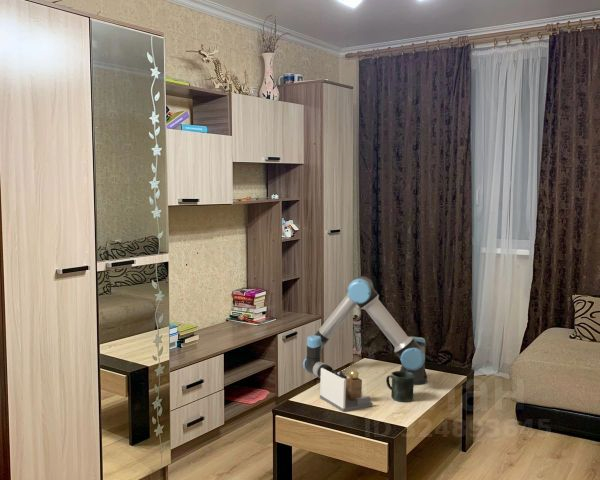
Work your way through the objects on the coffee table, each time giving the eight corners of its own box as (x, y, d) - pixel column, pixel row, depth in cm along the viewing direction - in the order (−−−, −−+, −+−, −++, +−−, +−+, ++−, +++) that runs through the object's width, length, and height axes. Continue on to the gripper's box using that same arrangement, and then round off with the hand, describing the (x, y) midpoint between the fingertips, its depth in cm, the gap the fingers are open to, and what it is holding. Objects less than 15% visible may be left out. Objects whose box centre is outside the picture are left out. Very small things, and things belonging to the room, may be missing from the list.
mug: (406, 404, 286) (407, 379, 285) (380, 397, 295) (380, 372, 294) (418, 398, 294) (419, 374, 293) (392, 391, 304) (393, 368, 303)
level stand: (320, 398, 292) (320, 368, 291) (348, 393, 300) (348, 364, 299) (343, 411, 275) (344, 380, 273) (372, 406, 282) (373, 375, 281)
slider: (344, 397, 289) (345, 369, 288) (355, 395, 292) (356, 367, 290) (350, 400, 284) (351, 372, 283) (361, 398, 287) (362, 370, 286)
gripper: (333, 376, 314) (360, 390, 294) (312, 380, 308) (337, 394, 288) (334, 362, 314) (360, 375, 293) (312, 365, 307) (338, 378, 287)
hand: (349, 384), depth 291 cm, fingers closed
